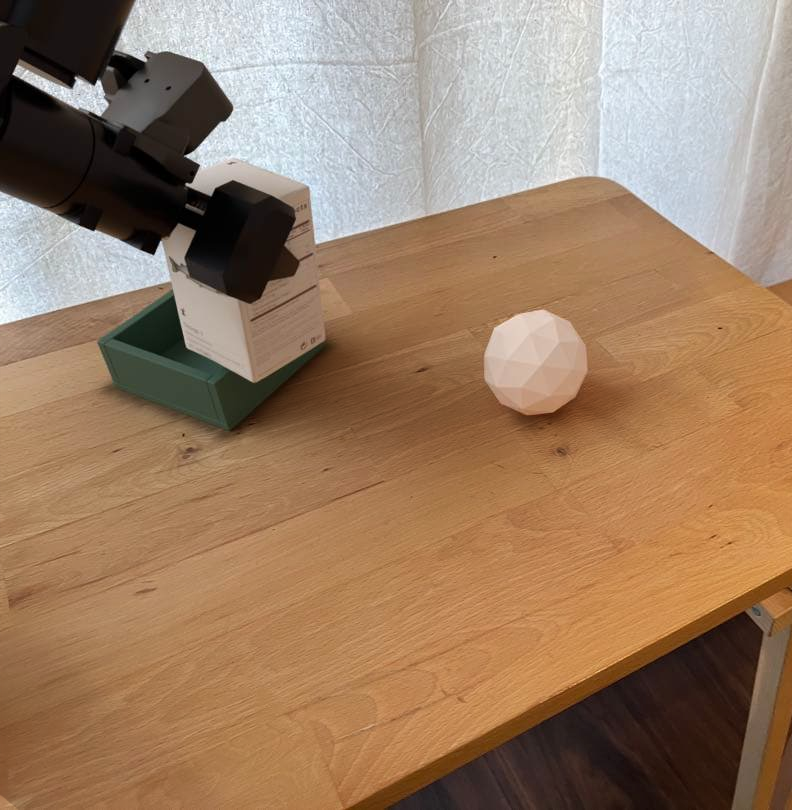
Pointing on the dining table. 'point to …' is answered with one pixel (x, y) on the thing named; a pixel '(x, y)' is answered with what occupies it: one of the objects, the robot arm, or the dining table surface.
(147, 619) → the dining table surface
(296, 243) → the white packaging box
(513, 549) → the dining table surface
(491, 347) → the geometric ball
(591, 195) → the dining table surface
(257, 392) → the bin
